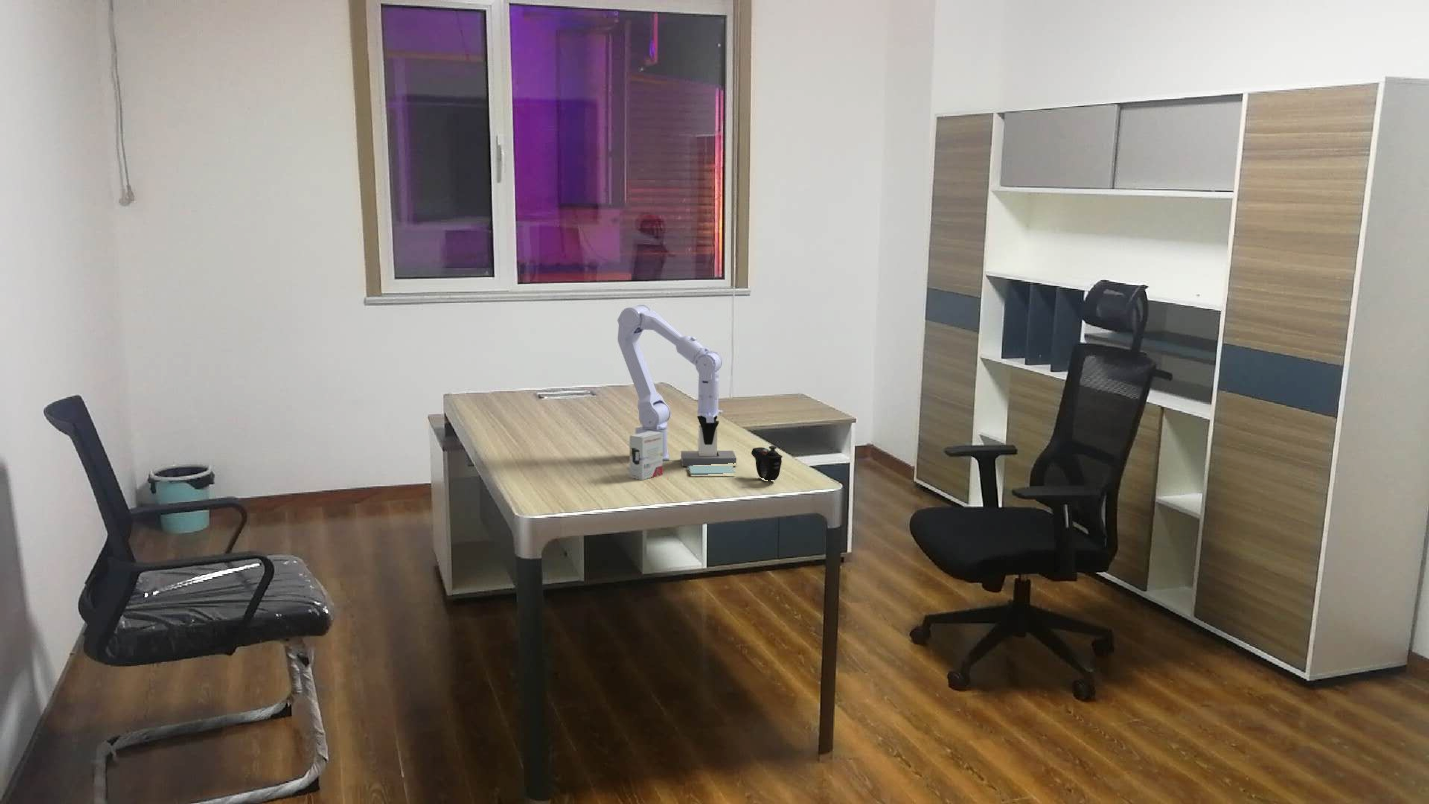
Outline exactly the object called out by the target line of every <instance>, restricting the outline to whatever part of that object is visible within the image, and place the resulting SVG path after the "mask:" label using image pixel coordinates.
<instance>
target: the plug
mask: <svg viewBox="0 0 1429 804" xmlns="http://www.w3.org/2000/svg"><path fill="white" fill-rule="evenodd" d="M697 435H698V438H697V443H698V444H697V446H698V447H697V451H698V454H699V456H717V451H718V427H717V428H716V430H715V434H714V439H713V443H712V445H705V444H704V439H703V432H702V428H701V425H700V424H699V425H698V434H697Z"/></svg>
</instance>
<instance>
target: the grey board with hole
mask: <svg viewBox="0 0 1429 804" xmlns="http://www.w3.org/2000/svg"><path fill="white" fill-rule="evenodd" d="M736 456H737V455H736V454H735V452H734V450H717V456H699V454H698V450H680V461H681V460H682V461H681V465H682V464H683V465H682V467H683V466H693V465H711V464H728V463H733V464H734V463H736V464H737V457H736Z"/></svg>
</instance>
